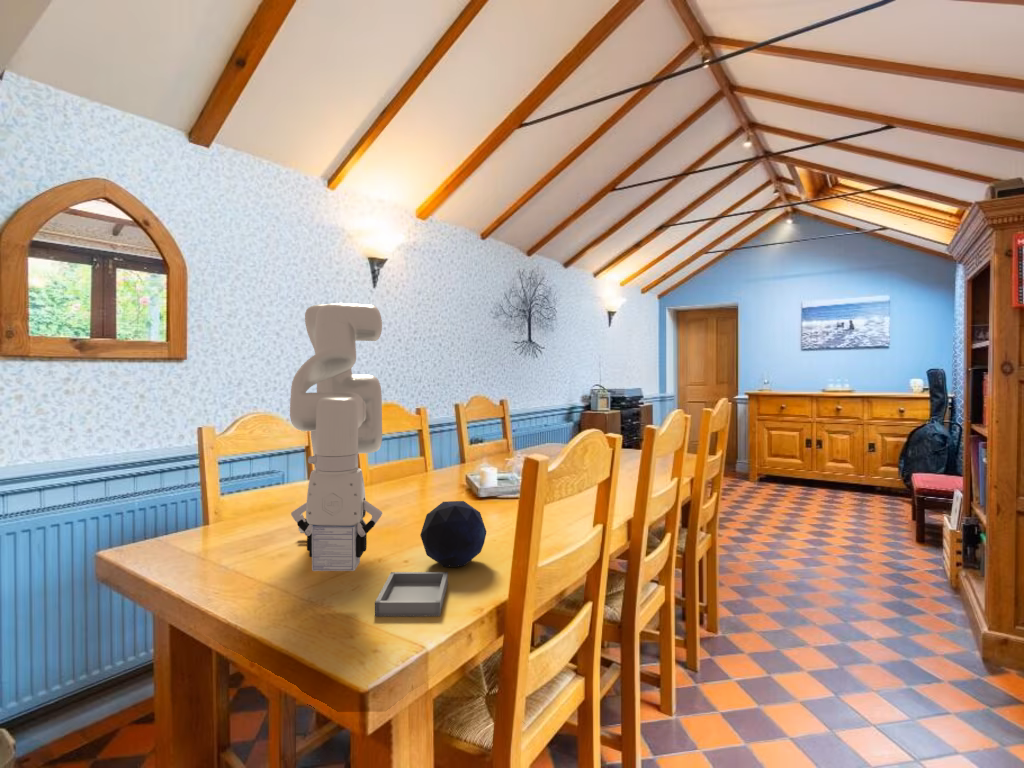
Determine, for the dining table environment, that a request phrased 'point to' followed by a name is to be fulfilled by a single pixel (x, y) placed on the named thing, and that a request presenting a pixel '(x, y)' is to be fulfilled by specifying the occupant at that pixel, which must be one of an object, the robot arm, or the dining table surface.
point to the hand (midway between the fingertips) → (337, 554)
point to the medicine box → (334, 548)
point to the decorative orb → (453, 533)
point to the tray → (412, 594)
